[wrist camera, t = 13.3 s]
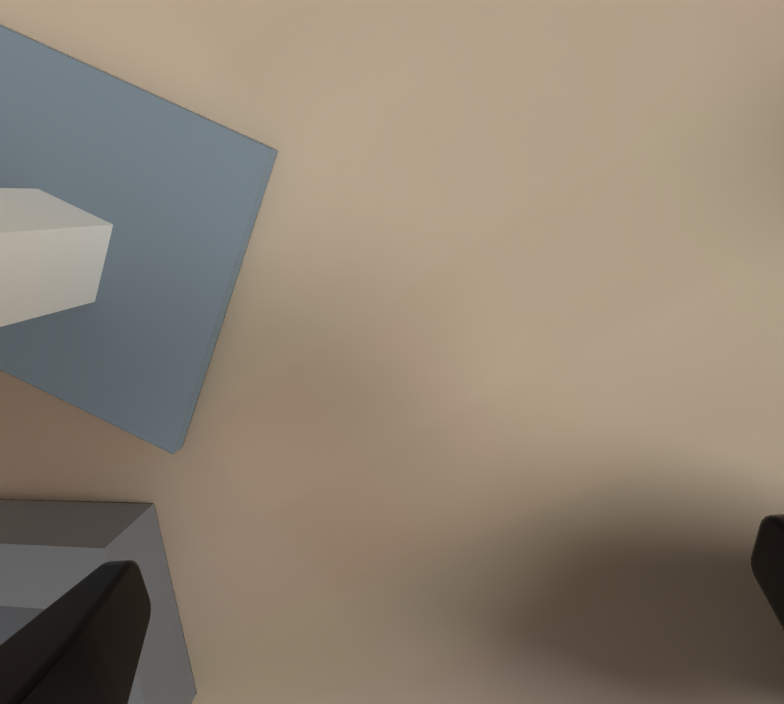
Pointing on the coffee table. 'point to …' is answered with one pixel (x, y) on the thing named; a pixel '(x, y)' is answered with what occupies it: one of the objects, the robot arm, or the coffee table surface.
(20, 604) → the socket block
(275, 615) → the coffee table surface
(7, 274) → the plug
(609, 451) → the coffee table surface
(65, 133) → the mat
